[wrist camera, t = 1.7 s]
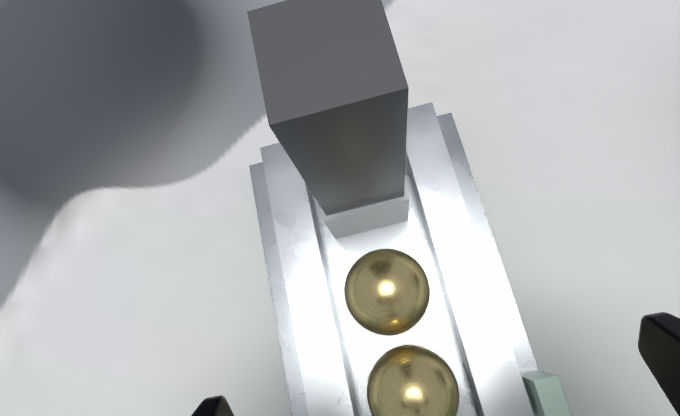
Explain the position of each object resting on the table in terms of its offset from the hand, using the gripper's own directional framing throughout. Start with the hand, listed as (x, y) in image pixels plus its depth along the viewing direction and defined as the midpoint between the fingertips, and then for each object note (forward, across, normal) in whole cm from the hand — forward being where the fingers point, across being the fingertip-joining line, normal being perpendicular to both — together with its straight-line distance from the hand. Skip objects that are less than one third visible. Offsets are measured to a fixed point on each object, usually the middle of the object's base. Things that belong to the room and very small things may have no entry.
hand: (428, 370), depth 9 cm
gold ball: (+8, 0, +10) cm, 13 cm away
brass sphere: (+11, 0, +7) cm, 13 cm away
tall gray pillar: (+15, +1, +3) cm, 15 cm away
